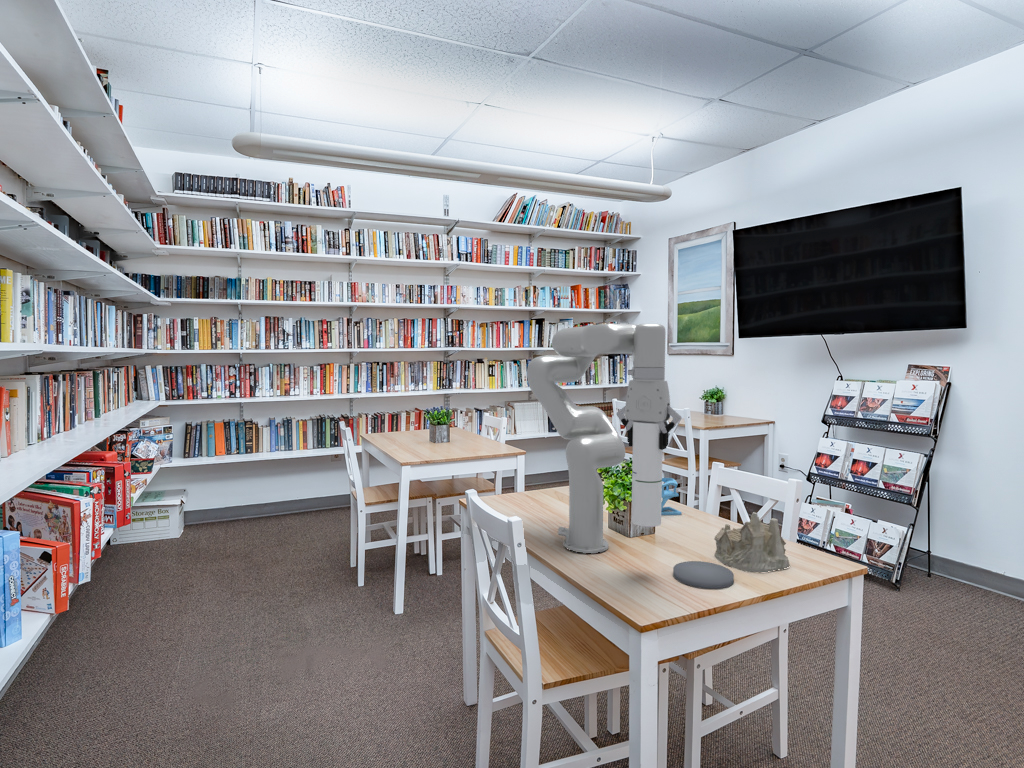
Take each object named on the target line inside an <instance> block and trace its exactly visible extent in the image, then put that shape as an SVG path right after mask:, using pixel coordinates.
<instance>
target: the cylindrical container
mask: <svg viewBox="0 0 1024 768" xmlns="http://www.w3.org/2000/svg"><path fill="white" fill-rule="evenodd" d="M660 433H661V429H660V427H659V423H654V422H641V421H633V446H632V465H631V470H632V472H631V516H630V517H631V520H630V521H631V523H632V524H633V525H635V526H639V527H646V528H647V527H648V528H651V527H652V528H654V527H659V526H661V524H662V515H661V512H662V511H661V502H662V500H663V499H662V485H663V481H662V478H663V450H660V449H659V434H660Z"/></svg>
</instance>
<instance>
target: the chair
mask: <svg viewBox="0 0 1024 768" xmlns="http://www.w3.org/2000/svg"><path fill="white" fill-rule="evenodd" d="M663 482H664V483H663ZM678 484H679V483H678V482H677V480H675V479H674V478H673V477H662V502H661V516H666V515H667V516H681V515H682V511H681V510H679V509H676V508H674V507H671V506H665V504H666V503H667V501H669V500H670V499H672V498H674V497H675V498H676V497H679V496H680V495H679V493H677V487H678ZM669 486H673V487H674V488H673V491H672V490H670V488H669ZM668 510H669V511H668Z"/></svg>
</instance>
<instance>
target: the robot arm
mask: <svg viewBox="0 0 1024 768" xmlns="http://www.w3.org/2000/svg"><path fill="white" fill-rule="evenodd" d="M551 347H552V349H553V351H554V352H555V353H556V354H557V355H555V354H547V355H546V354H545V355H540V356H536V357H534V358H533V359H531V360H530V362H529V363H528V365H527V370H526V371H527V372H526V378H527V383H528V386H529V388H530V390H531V391H530V392H532V395H534V397H535V399H536V400H537V401H538V403H540V405H541V406H542V407H543V409H544V410H545V413H546V414H547V416H548V417H549V419H550V421H551V423H552V425H553V427H554V428H555V430H556V432H557V434H558V435H559V436H560V437H561V438H562V439H564V440H569V442H567V445H566V448H565V456H566V457H565V458H566V463H567V469H568V481H569V482H568V485H569V486H568V489H569V491H568V492H569V493H568V494H569V495H568V497H569V498H568V499H569V500H568V503H569V505H568V507H569V508H568V512H569V513H568V514H569V515H568V518H569V519H568V527H563V526H559V527H558V529H557V535H558V536H562V537H565V539H564V540H563V547H564V546H565V547H566V548H568V549H570V550H573V551H577V552H583V553H582V554H586V553H591V554H598V552H600V553H603V552H606V551H607V550H608V549H609V542H608V541H607V540H606V539H604V483H603V480H602V478H601V476H600V475H599V472H598V470H597V469H601V468H602V469H603V468H609V467H610V468H611V467H616V466H618V465H620V464H621V463H622V462H623V461H624V460H625V457H626V447H625V443H624V441H623V438H622V437H621V435H620V434H619V433H618V431H617V429H616V428H615V427H614V425H613V423H612V421H611V420H610V419H609V417H608V415H607V414H606V413H605V411H604V410H602V409H601V408H599V407H597V406H593V405H589V406H588V405H587V406H586V405H585V406H580V405H577V404H576V403H575V402H574V400H573V399H572V398H571V396H570V394H568V392H567V391H566V390H565V389H564V388H562V387H560V386H559V385H558V384H559V383H560V384H561V383H564V384H565V383H575V382H577V381H579V380H581V378H582V377H583V376H584V375H585V373H586V371H587V370H588V369H589V367H590V366H591V364H592V363H593V361H595V360H594V359H595V358H596V357H597V356H598V355H619V354H620V355H621V354H622V355H624V354H625V355H633V356H632V358H633V360H632V363H633V364H632V368H631V369H628V370H627V375H629V376H631V377H632V379H630V380H629V381H628V385H627V391H626V399H625V406H623V407H622V408H621V409H620V410H618V411H617V412H616V417H617V418H618V419H619V420H620V423H621V424H622V425H623V426H624V427H625V430H627V436H626V437H627V443H628V447H633V421H641V422H654V423H659V427H660V429H661V433H660V434H659V449H660V450H662V451H663V450H665V449H667V447H668V445H669V432H671V431H672V430H673V429H674V428H675V427H676V426H677V424H678V423H679V422H680V421H681V420H682V416H681V415H680V414H679V413H678V412H677V411H676V410H674V409H673V408H672V407H671V399H670V398H671V396H670V389H669V385H668V384H669V383H668V380H665V378H666V377H665V374H666V373H665V371H666V370H665V369H666V366H665V365H666V328H665V326H664V325H663V324H661V323H642V324H641V323H639V324H637V323H636V324H634V323H630V324H629V323H600V324H598V323H597V324H591V325H590V324H588V325H584V326H574V327H565V328H561V329H559V330H558V331H557V332H555V333H554V335H553V336H552V339H551ZM671 417H672V420H671V421H670V422H668V421H669V420H670V419H671ZM565 547H564V548H565ZM566 548H565V549H566ZM568 549H567V550H568ZM570 550H569V551H570ZM573 551H572V552H573ZM577 552H576V553H577Z"/></svg>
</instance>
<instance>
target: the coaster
mask: <svg viewBox="0 0 1024 768" xmlns="http://www.w3.org/2000/svg"><path fill="white" fill-rule="evenodd" d="M672 568H673V569H672V572H673V573H672V574H673V575H672V576H673V578H674V579H675V580H676V581H677V582H680V583H681V584H683V585H686V586H690V587H693V588H698V589H706V590H720V589H725V588H726V589H727V588H728V587H731V586H732V585H734V583H735V582H734V579H735V578H734V577H735V575H734V573H733V571H732V570H731V569H730V568H728V567H726V566H723V565H720V564H717V563H714V562H708V561H701V560H700V561H699V560H697V561H696V560H691V561H683V562H682V561H681V562H679V563H676V564H675V565H673V567H672Z"/></svg>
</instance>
